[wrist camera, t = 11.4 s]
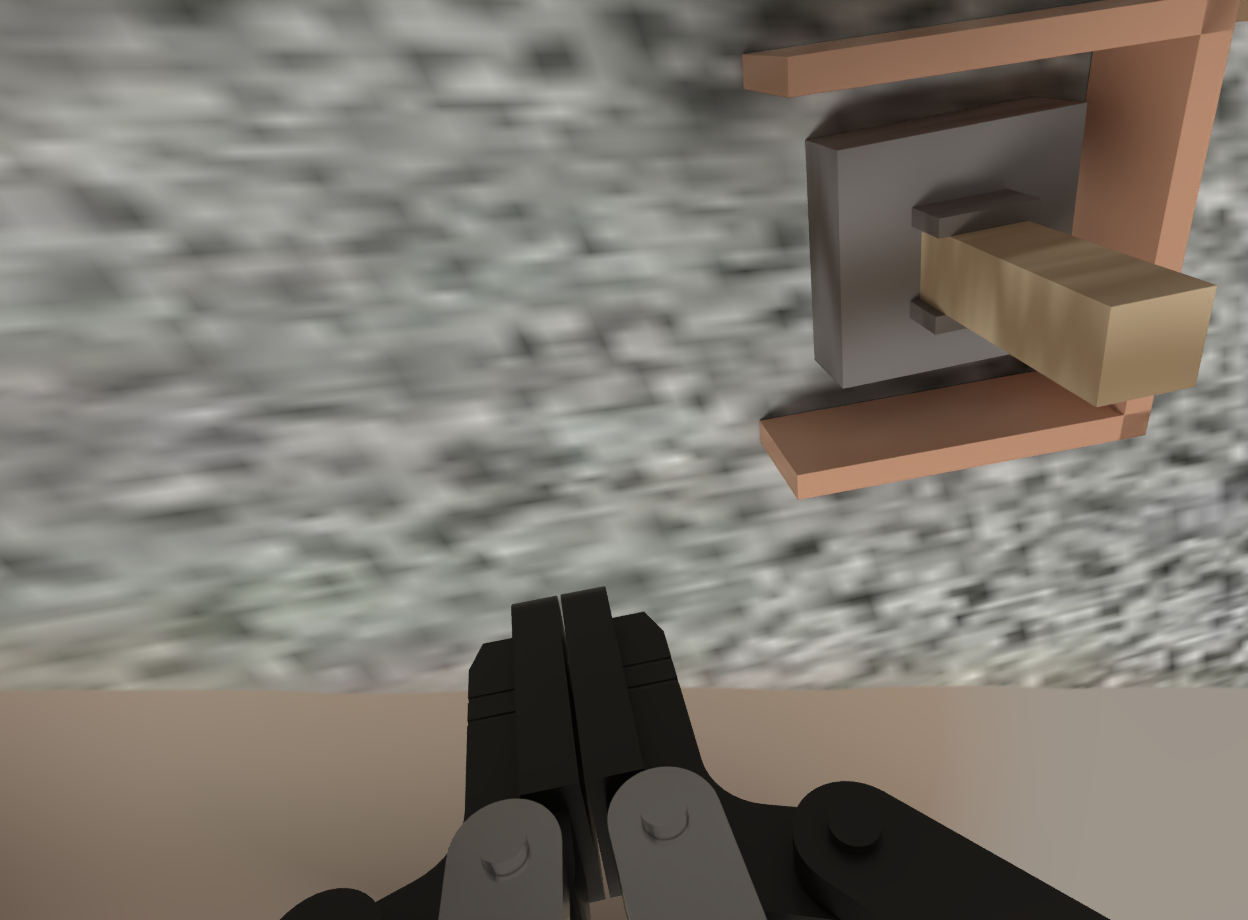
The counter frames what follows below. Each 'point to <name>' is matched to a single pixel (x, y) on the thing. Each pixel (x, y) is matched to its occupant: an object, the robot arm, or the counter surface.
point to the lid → (1242, 11)
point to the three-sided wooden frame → (1104, 214)
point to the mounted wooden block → (986, 259)
